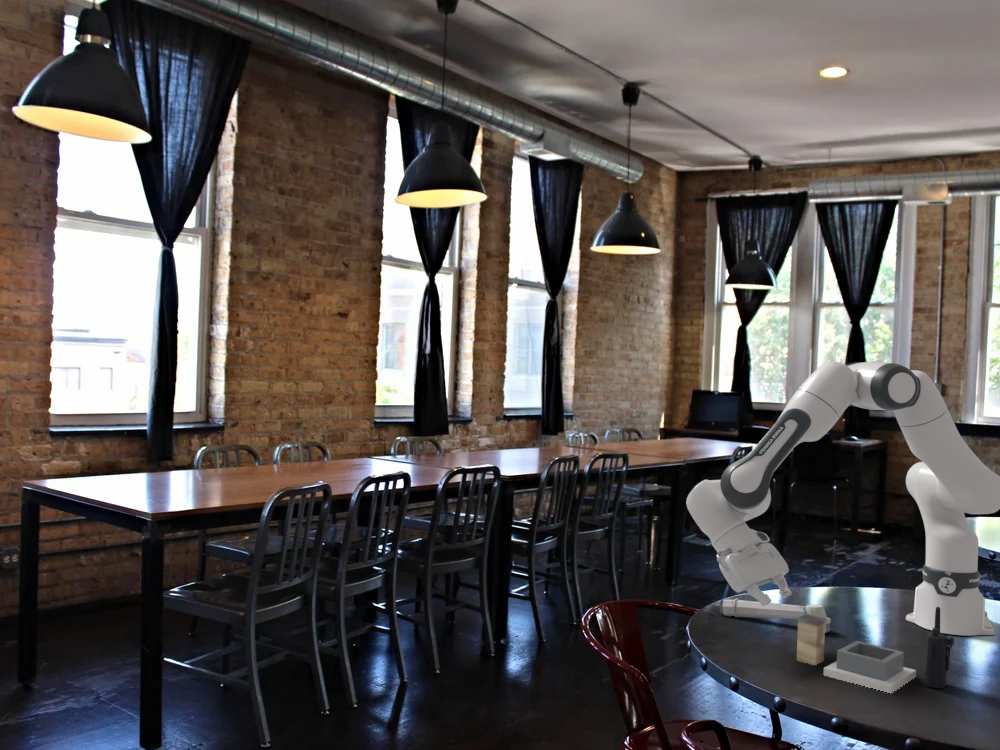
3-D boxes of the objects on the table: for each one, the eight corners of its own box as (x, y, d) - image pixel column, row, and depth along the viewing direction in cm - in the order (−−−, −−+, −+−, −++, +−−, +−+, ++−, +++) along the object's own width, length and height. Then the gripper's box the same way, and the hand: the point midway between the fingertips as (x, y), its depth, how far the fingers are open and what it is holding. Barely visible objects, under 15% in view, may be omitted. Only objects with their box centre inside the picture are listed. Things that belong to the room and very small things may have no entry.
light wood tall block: (805, 656, 186) (806, 613, 185) (823, 661, 183) (825, 618, 183) (796, 660, 183) (798, 617, 183) (815, 665, 180) (816, 621, 180)
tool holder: (850, 660, 184) (851, 636, 183) (915, 677, 175) (916, 652, 174) (823, 675, 174) (824, 650, 174) (890, 694, 165) (891, 667, 165)
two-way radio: (928, 679, 174) (931, 603, 173) (954, 684, 171) (956, 607, 171) (923, 687, 169) (926, 609, 169) (949, 693, 167) (952, 614, 166)
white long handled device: (725, 596, 218) (830, 599, 205) (727, 623, 218) (833, 628, 204) (718, 601, 214) (825, 604, 200) (721, 629, 213) (828, 634, 200)
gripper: (723, 544, 186) (764, 600, 179) (769, 532, 200) (809, 584, 194) (703, 561, 189) (743, 617, 182) (751, 548, 203) (789, 600, 197)
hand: (778, 600), depth 188 cm, fingers open, 8 cm apart
